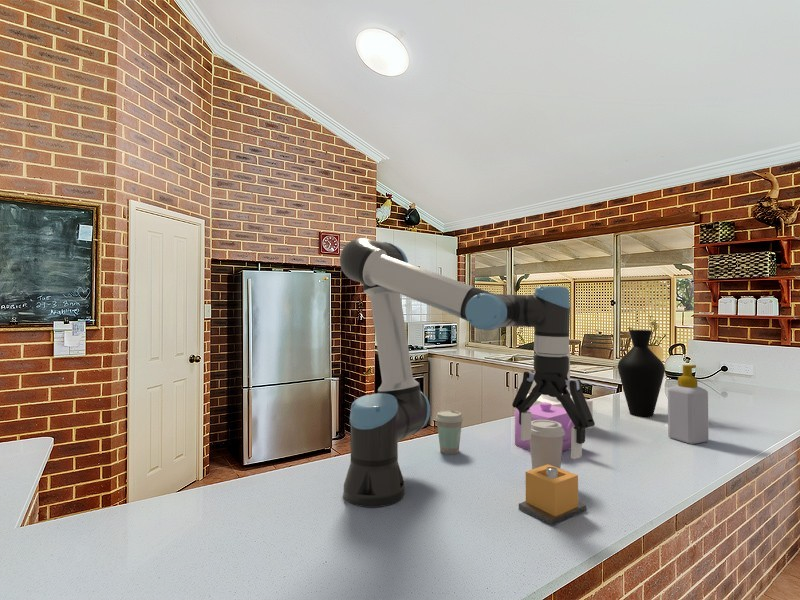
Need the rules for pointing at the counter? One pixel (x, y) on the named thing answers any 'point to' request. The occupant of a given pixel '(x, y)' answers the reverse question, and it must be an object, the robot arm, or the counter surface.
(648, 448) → the counter surface
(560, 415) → the teapot
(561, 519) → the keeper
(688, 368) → the soap bottle
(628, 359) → the vase
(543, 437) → the coffee cup
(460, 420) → the coffee cup
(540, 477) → the hollow block
